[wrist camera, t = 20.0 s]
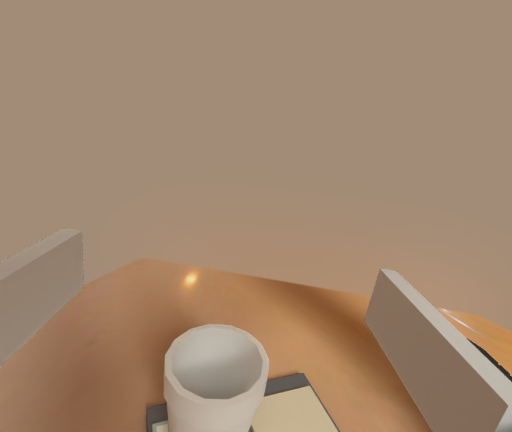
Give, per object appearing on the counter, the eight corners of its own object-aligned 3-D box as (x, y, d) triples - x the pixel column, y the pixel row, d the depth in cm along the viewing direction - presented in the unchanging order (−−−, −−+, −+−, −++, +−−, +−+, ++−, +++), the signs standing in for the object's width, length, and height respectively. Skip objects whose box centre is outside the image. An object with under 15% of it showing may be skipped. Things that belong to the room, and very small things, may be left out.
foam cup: (260, 501, 27) (285, 396, 23) (156, 533, 24) (165, 418, 20) (236, 408, 35) (251, 320, 32) (158, 422, 32) (164, 327, 28)
